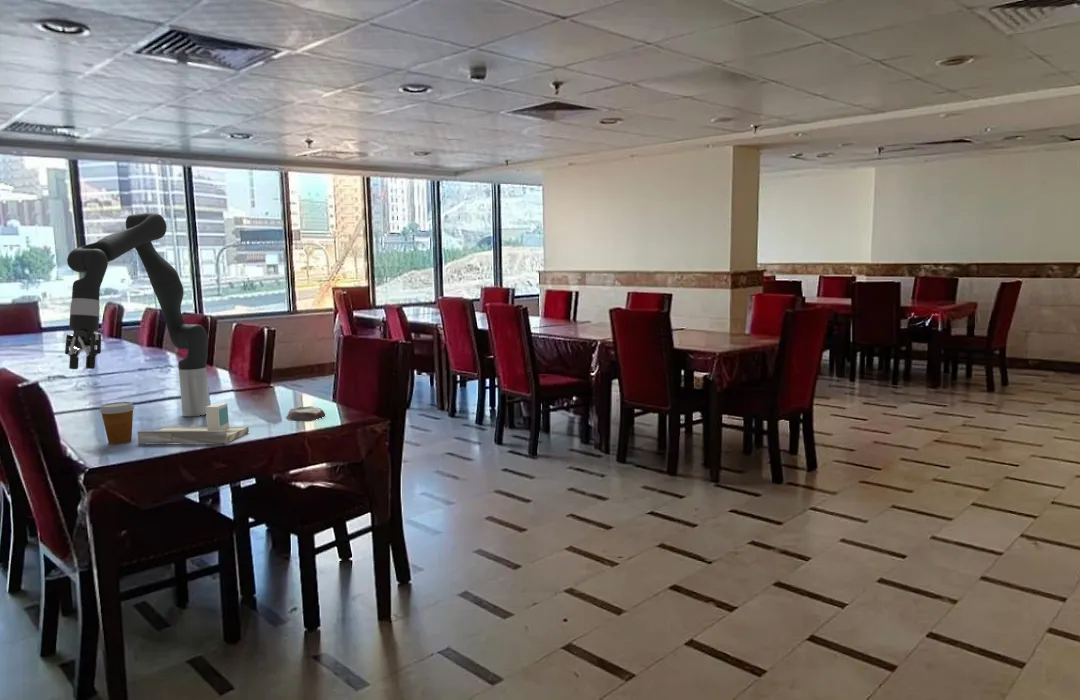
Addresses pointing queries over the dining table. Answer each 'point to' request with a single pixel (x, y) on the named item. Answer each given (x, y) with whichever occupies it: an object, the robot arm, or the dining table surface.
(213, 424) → the carton
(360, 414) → the dining table surface
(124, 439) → the disposable coffee cup
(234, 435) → the cream rectangular tray
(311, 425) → the dining table surface
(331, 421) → the dining table surface
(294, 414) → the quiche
